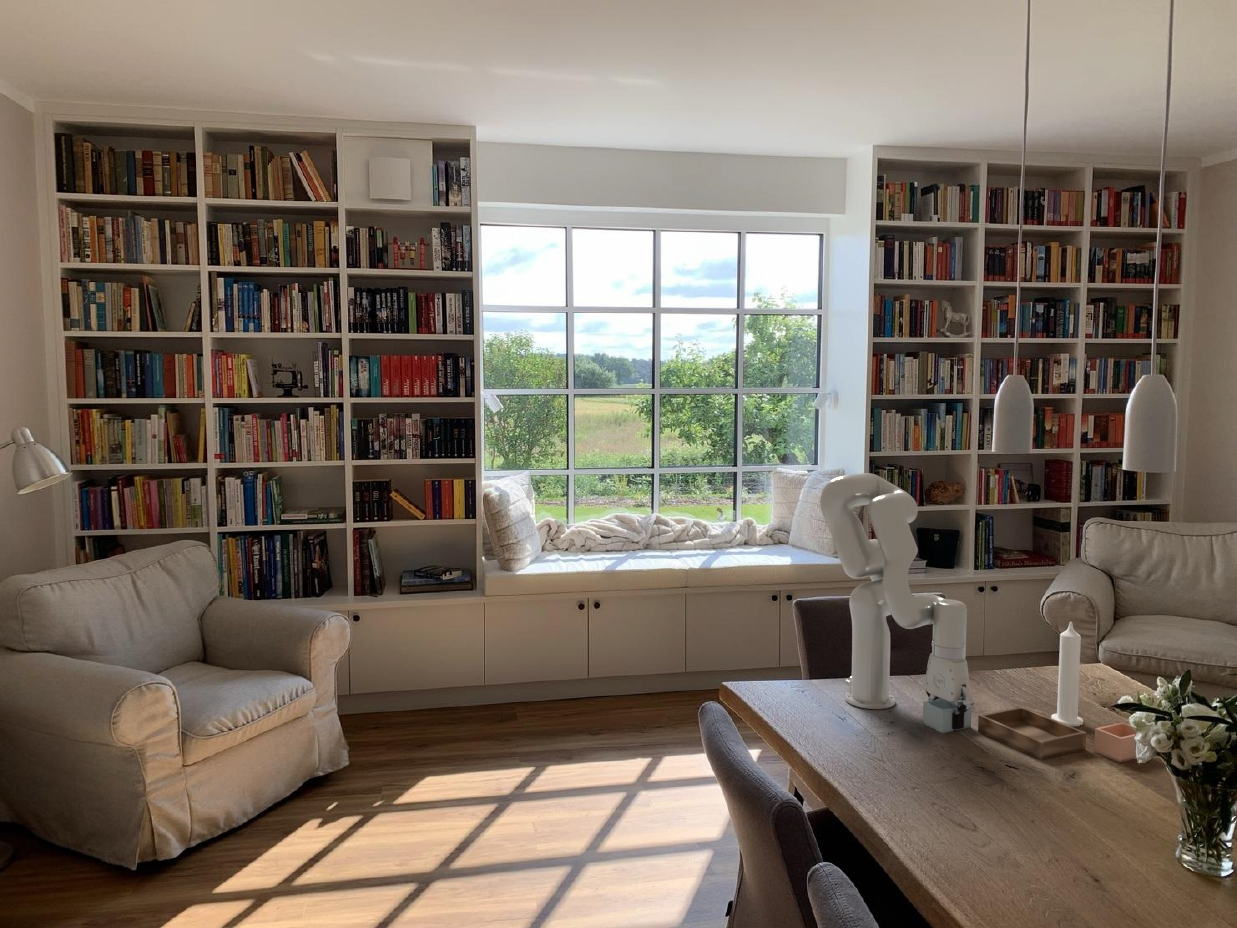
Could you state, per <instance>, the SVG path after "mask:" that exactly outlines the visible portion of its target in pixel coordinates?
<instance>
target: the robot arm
mask: <svg viewBox="0 0 1237 928" xmlns="http://www.w3.org/2000/svg"><path fill="white" fill-rule="evenodd" d="M820 494H821V495H820V499H819V501H820V503H819V504H820V511H821V513H822V516H823V518H824V521H825V523H826V524H827V525H826V526H827V528H828V529H829V532H830V534H831V537H832V540H833V543H834V547H835V549H836V553H837V556H838V558H839V561H840V564H841V566H842V568H843V571H844V572H845V574H846V575H847V576H848V577H849V578H851V579H864V578H869V577H870V580H871V581H866V582H864V583H861V584H859V585H858V586H856V587H855V588H853V590H852V592H851V593H850V596H849V600H848V601H849V602H848V603H849V611H850V617H851V626H852V627H851V629H852V631H851V634H852V635H851V636H852V638H851V640H852V641H851V643H852V644H851V647H852V648H851V649H852V650H851V676H849V677H848V679H845V680H844V684H845V685H846V686H848V687H849V690H848V691H847V692H845V695H844V699H845V702H847V703H848V704H850V705H852V706H855V707H857V708H862V709H868V710H885V709H889V708H892V707H893V706H894V705H895V704H896V698H895V697H894V696H893V695H892V694H890V670H891V669H890V667H891V664H890V663H891V631H890V627H889V625H888V623H887V617H888V616H892V619H894V621H895V623H896V624H897V625H898V626H900V627H902V628H904V629H906V630H907V629H908V630H913V629H916V628H921V627H923V626H927V625H932V641H931V647H932V650H931V651H932V652H931V653H930V654H929V656H928V660H927V661H928V662H927V667H926V672H925V673H926V674H925V680H924V681H923V682H922V686H923V687H924V690H925V692H926V695H927V697H928V701H931V700H936V699H943V700H946V701H948V702H951V703H952V705H953V708H954V712H955V713H953V715H952V729H954V730H955V731H958V730H957V729H960V730H962V729H961V728H964V713H966V712H967V710H968V709H970V707H971V706H972V707H973V706H974V705H975V701H974V699H973V698H972V696H971V694H970V679H969V678H970V677H969V667H968V661H967V660H966V653H967V652H966V650H967V648H966V647H967V646H966V645H967V622H968V621H967V619H968V618H967V616H968V615H967V614H968V608H967V605H966V604H965V603H964V602H963V601H960V600H957V599H948V598H944V597H941V596H939V595H936V594H933V593H929V592H923V593H919V594H914V595H913V593H912V590H911V587H910V585H909V571H910V570H909V569H910V567H911V565H912V563H913V561H914V559H915V558H916V556H917V554H918V551H919V550H918V549H919V548H918V546H917V544H916V543H917V542H916V540H915V538H914V535H913V533H912V530H911V526H910V525H909V524H911V523H912V522H914V521H915V520H916V519H917V517H918V512H919V509H918V505H917V501H916V500H915V498H914V497H913V496H912V495H911V494H909V493H908V492H907V491H905V490H903V489H902V488H900V487H899V486H897V485H896V484H893V483H892V482H890V481H888V480H886V479H885V478H883V477H881V476H879V475H877V474H875V473H871V472H867V473H866V472H863V473H854V474H845V475H840V476H837V477H834V478H832V479H831V480H829V481H828V482H827V483H826V484H825V486H824V487H823V489H822V491H821V493H820ZM867 505H868V506H867ZM859 506H867V514H868V517H869V521H870V523H871V526H872V529H873V531H874V533H875V537H876V538H873V539H869V538H868V536H867V533H866V531H865V529H864V525H863V523H862V521H861V520H860V518H859V517H858V516H857V514H856V513H855V512H854V511H853V508H854V507H859ZM958 702H959V703H960V707H958Z"/></svg>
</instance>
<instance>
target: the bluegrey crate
mask: <svg viewBox="0 0 1237 928" xmlns="http://www.w3.org/2000/svg"><path fill="white" fill-rule="evenodd" d="M922 706H923V707H922V710H923V711H922V724H923V723H924V724H925V725H924V724H923V725H924V726H926V725H927V727H928V726H929V728H930V729H933V728H934V729H933V730H935V729H936V730H935V731H937V732H939V733H941V734H945V733H949V732H955V731H954V729H952V715H953V713H955V712H954V708H953V705H952V703H951V702H948V701H946V700H943V699H936V700H931V701H929V700H926V701H923V705H922ZM958 707H960V703H959V702H958ZM972 708H973V705H972V706H971V707H970V709H968V710H967V712H966V713H964V728H961V729H957V730H956V731H959V730H960V731H961V730H964V729H968V728H971V727H972Z"/></svg>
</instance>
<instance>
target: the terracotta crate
mask: <svg viewBox="0 0 1237 928" xmlns="http://www.w3.org/2000/svg"><path fill="white" fill-rule="evenodd" d="M1135 734H1136V732H1135V731H1134V730H1133V729H1132V728H1131V727H1130V724H1128V723H1126V722H1117V723H1113V724H1109V725H1104V726H1100V727H1096V728H1094V743H1093V745H1094V746H1093V752H1094V754H1097V753H1099V754H1101V755H1100V756H1102V755H1103V756H1102V757H1104V756H1105V758H1107V759H1109V758H1111V759H1113V760H1112V761H1114V760H1115V761H1114V762H1116V761H1118V762H1117V763H1119V764H1123V763H1126V762H1125V761H1127V762H1131V761H1135V760H1136V759H1135V743H1134V736H1135ZM1099 754H1098V755H1099ZM1133 758H1134V760H1132V759H1133ZM1111 759H1110V760H1111ZM1130 760H1131V761H1130ZM1122 762H1123V763H1122Z"/></svg>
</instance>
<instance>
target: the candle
mask: <svg viewBox="0 0 1237 928" xmlns="http://www.w3.org/2000/svg"><path fill="white" fill-rule="evenodd" d="M1081 642H1082V637H1081V635H1080V634H1079V633H1078V632H1077V631H1075V629H1074V624H1073V622H1072V621H1069V624H1068V627H1067V629H1066V630H1064V631H1063V632H1061V633H1060V634H1059V656H1058V657H1059V658H1058V678H1057V679H1058V681H1057V682H1058V684H1057V703H1056V704H1057V707H1056V713H1053V714H1051V716H1050V718H1051V719H1054V720H1056V721H1059V722H1061V723H1064V724H1066V725H1069V726H1071V727H1081V726H1082V725H1084V720H1083V718H1082V717H1080V716H1078V713H1079V691H1080V689H1079V687H1080V671H1081V669H1080V666H1081V664H1080V663H1081V644H1082V643H1081ZM1080 725H1081V726H1080Z"/></svg>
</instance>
